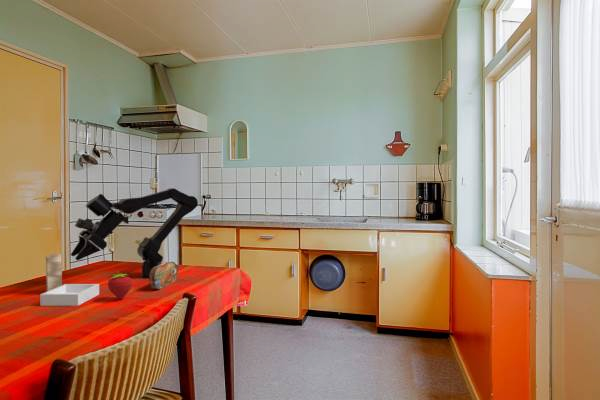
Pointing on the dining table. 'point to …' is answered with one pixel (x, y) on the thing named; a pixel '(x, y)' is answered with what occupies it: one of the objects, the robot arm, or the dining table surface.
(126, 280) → the strawberry
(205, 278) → the dining table surface
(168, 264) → the tin
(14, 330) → the dining table surface
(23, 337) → the dining table surface
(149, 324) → the dining table surface
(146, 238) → the robot arm
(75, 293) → the box
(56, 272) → the birch block
